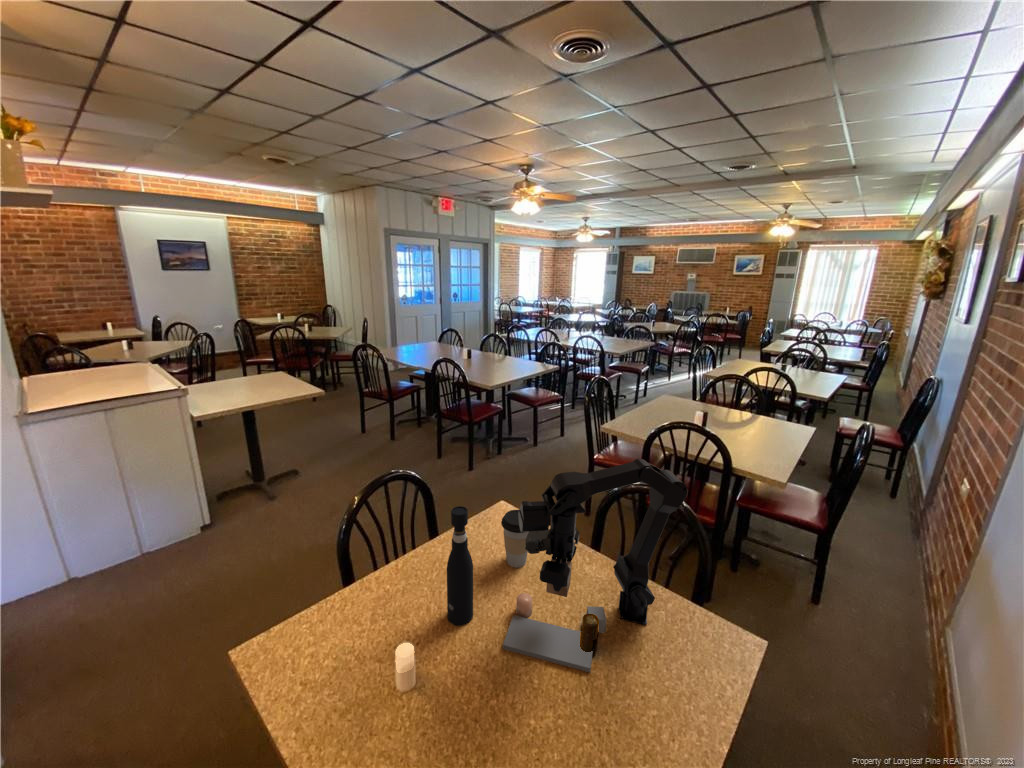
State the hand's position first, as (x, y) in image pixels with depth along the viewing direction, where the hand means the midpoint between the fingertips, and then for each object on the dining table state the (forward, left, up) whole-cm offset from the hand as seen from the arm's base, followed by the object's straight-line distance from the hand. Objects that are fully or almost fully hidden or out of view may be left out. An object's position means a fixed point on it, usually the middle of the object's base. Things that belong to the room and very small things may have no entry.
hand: (558, 583), depth 101 cm
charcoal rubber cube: (-10, -1, -11) cm, 15 cm away
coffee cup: (+15, -18, -11) cm, 27 cm away
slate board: (0, +7, -11) cm, 13 cm away
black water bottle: (+23, +6, -11) cm, 27 cm away
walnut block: (0, 0, -1) cm, 1 cm away
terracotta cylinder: (+8, 0, -11) cm, 14 cm away
